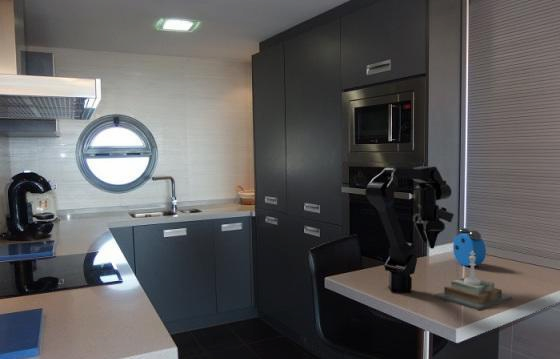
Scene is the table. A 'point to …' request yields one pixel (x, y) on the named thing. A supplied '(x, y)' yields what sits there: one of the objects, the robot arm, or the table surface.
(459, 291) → the stacked blocks
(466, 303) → the baseplate
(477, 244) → the alarm clock
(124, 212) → the table surface
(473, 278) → the chess piece
